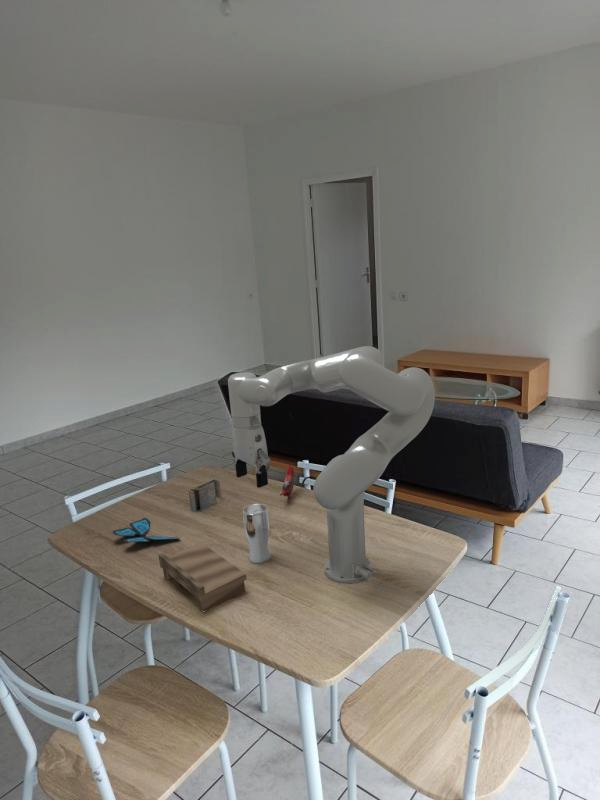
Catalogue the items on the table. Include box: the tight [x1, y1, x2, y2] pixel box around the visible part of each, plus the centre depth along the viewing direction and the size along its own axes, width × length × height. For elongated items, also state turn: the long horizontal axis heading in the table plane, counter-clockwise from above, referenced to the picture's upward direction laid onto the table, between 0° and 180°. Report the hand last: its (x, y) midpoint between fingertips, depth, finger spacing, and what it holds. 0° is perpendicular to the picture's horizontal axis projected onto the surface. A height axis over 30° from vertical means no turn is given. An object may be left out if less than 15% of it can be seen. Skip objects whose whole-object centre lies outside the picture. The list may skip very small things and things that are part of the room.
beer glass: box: [242, 503, 272, 565], centre depth 160 cm, size 7×7×15 cm
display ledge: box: [157, 542, 248, 612], centre depth 151 cm, size 22×13×7 cm, turn 39°
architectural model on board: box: [188, 478, 222, 513], centre depth 196 cm, size 11×3×10 cm, turn 139°
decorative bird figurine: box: [279, 465, 295, 501], centre depth 195 cm, size 3×18×10 cm, turn 167°
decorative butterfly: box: [112, 517, 181, 543], centre depth 177 cm, size 20×14×3 cm
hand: (252, 480), depth 156 cm, fingers open, 9 cm apart
